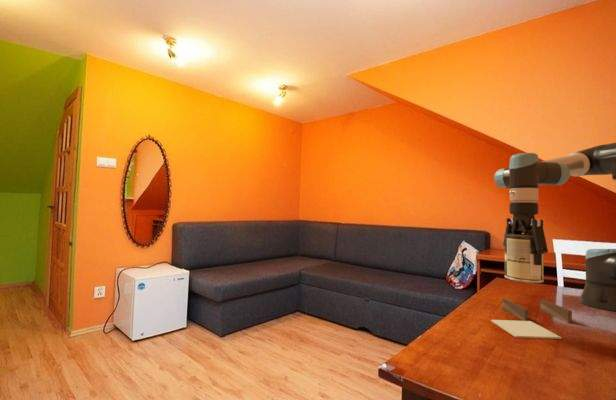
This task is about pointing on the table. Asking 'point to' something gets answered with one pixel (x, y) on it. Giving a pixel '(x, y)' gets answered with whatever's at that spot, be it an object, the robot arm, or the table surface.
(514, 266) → the coffee can
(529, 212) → the robot arm
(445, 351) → the table surface
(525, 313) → the wooden bars
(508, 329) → the mat
